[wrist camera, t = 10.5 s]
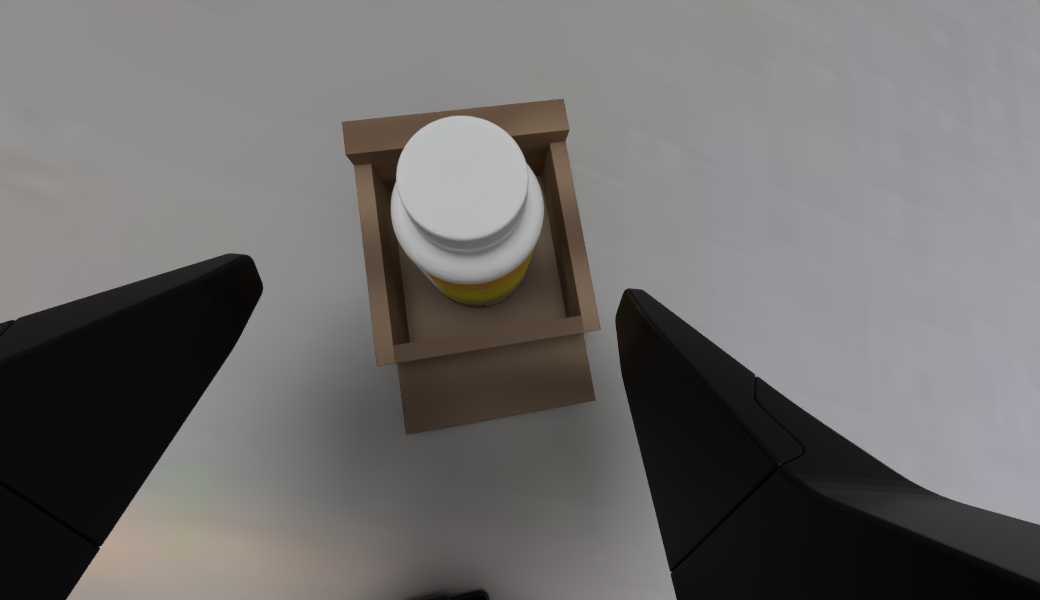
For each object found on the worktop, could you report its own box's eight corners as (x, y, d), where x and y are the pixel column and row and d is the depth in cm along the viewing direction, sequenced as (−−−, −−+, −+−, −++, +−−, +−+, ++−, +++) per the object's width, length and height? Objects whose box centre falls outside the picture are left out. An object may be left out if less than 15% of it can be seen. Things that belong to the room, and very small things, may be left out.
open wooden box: (590, 397, 21) (623, 414, 16) (410, 430, 20) (379, 460, 15) (547, 157, 23) (563, 98, 18) (379, 177, 22) (341, 121, 17)
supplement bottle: (546, 264, 21) (594, 186, 11) (473, 328, 20) (452, 308, 10) (482, 194, 21) (472, 55, 11) (408, 255, 21) (325, 164, 11)
